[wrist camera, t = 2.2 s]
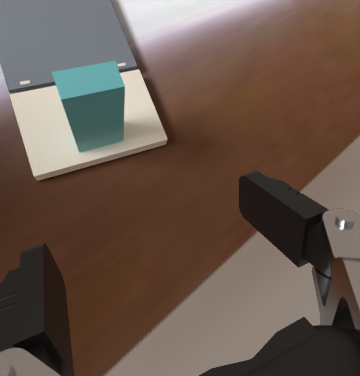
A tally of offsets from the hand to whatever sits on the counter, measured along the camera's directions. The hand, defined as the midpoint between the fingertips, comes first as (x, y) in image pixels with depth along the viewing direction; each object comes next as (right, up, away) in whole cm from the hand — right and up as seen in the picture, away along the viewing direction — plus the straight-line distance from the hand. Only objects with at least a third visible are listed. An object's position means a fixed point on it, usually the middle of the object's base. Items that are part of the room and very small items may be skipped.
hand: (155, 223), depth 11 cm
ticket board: (-12, +18, +18) cm, 28 cm away
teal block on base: (-7, +8, +15) cm, 19 cm away
